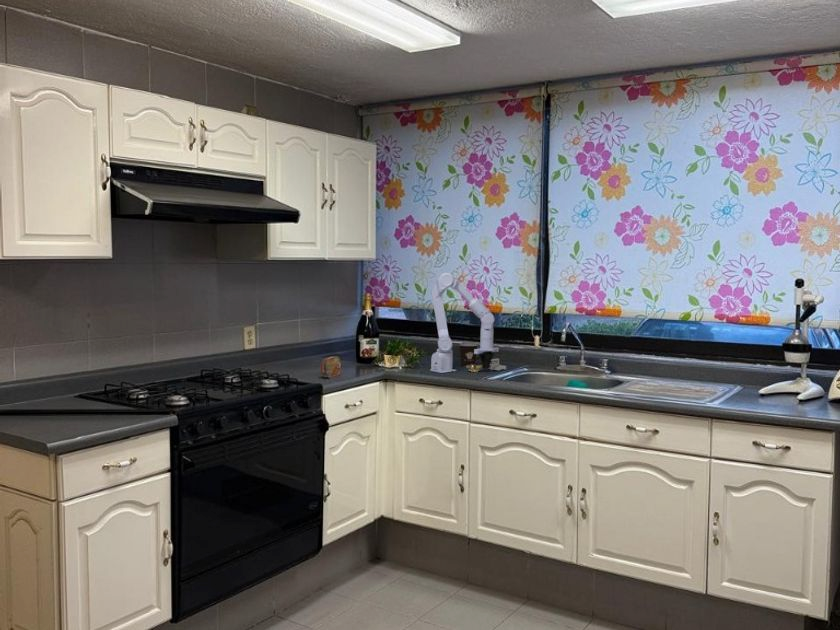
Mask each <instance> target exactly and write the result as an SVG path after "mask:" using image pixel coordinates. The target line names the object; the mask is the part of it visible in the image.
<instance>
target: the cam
mask: <svg viewBox="0 0 840 630" xmlns="http://www.w3.org/2000/svg"><path fill="white" fill-rule="evenodd" d="M490 367H491V365H490V366H489V368H490ZM465 368H467V369H468V372H469V371H471V372H470V373H479V372H478V371H481V369H484V368H483V364H481V365H479V364H477V365H476V363H475V364H470V365H466V367H465Z"/></svg>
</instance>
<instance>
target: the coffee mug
mask: <svg viewBox="0 0 840 630" xmlns="http://www.w3.org/2000/svg"><path fill="white" fill-rule="evenodd" d="M478 348H479V347H478V344H475V343H460V344H459V345H458V349H459V358H460V366H461V367H463V366H466V365H470V364H475V365H476V361H477V360H478V359H481V358H480V356H478V357H477V354H474V349H478Z"/></svg>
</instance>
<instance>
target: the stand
mask: <svg viewBox="0 0 840 630" xmlns="http://www.w3.org/2000/svg"><path fill="white" fill-rule="evenodd" d="M490 365H491V367H490V368H489V369H491V370H490V371H493V370H497V371H501V369H504V370H507V365H502V364H500V358H492V360H491V362H490Z"/></svg>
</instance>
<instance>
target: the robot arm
mask: <svg viewBox="0 0 840 630" xmlns="http://www.w3.org/2000/svg"><path fill="white" fill-rule="evenodd" d="M449 288H451V289H453V290H455V291H457V292H458V293H459V294H460V295H461V296H462V297H463V298H464V299H465V301H467V302H468V309H469V310H470V311H472V312H473V313H472V314H474V315H475V316H476V317H477V318H479V319H480V323H481V325H480V336H479V339H480V343H479V347H477V348H478V349H474V354H476V355H478V357H480V358H479V359H481V365H483V368H482V369H484V370H487V369H489V366H490V362H491V360H492V359H494V356H495V352H496V353H497V352H499V347H497V346H494V322H495V316H494V315H493V313H492V312H491V311H490V309H489V308H487V307H486V305H485V304H484V303H483V300H482V299H479V298H474V297H473V296H472V294H471V293H470V292H469V291H468V290H467V288H466V287H465V286H464V285H463V284H462V283H461V282H460V281H459V280H458V279H457V278H455V277H454V276H453V275H452V273H449V272H442V273H441V275H439V276H438V277H437V279H436V281H435V283H434V285H433V287H432V290H431V297H432V304H433V309H434V316H435V321H436V329H437V334H438V339H437V347H438V348H436V352H433V353H432V355H431V359H430V360H431V362H430V363H431V365H430V367H431V368H430V369H429V371H430V372H435V373H440V374H445V373H451V372H452V371H453V372H457V371H458V370H457V369H453V359H454V356H453V355H454V350H453V349H452V348H453V341H452V339H451V337H450V335H449V330H448V323H447V318H446V312H445V306H444V301H443V294H444V293H445V291H446V290H448V289H449Z"/></svg>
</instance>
